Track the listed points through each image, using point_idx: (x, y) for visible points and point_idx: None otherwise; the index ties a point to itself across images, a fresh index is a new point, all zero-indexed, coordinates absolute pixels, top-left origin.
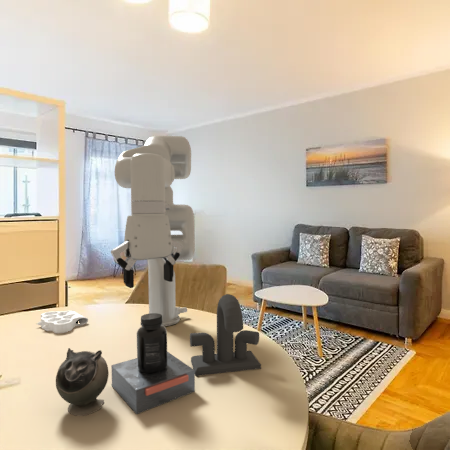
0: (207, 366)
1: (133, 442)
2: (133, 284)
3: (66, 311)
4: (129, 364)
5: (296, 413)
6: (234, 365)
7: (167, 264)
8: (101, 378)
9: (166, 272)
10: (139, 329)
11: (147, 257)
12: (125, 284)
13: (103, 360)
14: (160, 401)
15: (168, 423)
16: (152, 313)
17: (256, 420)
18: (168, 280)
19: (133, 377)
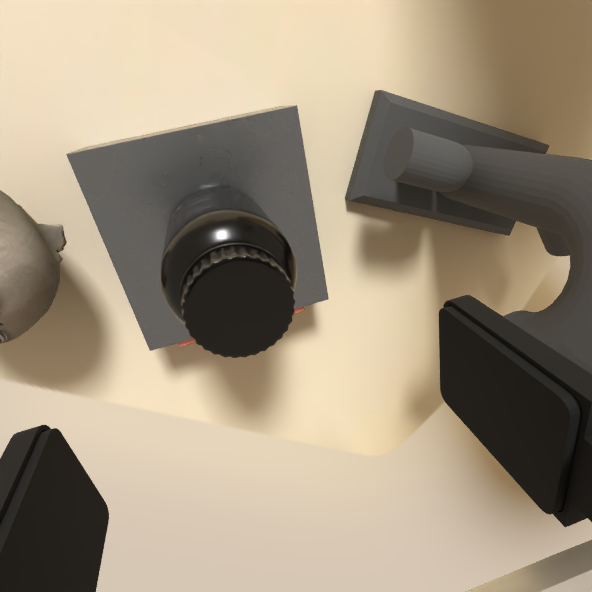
0: (389, 202)
1: (140, 401)
2: (102, 537)
3: None
4: (141, 178)
5: (433, 400)
6: (453, 219)
7: (574, 476)
8: (34, 323)
9: (491, 398)
10: (173, 283)
11: None
12: (16, 438)
13: (21, 293)
14: None
15: (217, 368)
16: (256, 265)
17: (367, 400)
18: (443, 385)
19: (148, 280)
